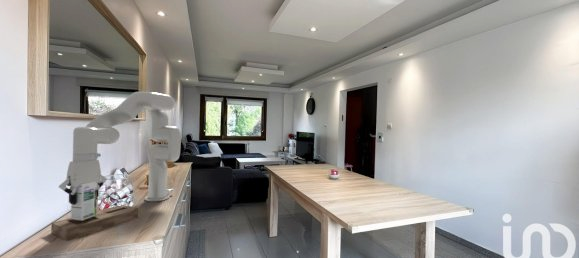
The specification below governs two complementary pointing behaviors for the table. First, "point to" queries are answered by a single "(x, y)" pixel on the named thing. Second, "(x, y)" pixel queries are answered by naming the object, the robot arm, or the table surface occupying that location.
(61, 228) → the socket block
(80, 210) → the syrup box
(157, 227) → the table surface
